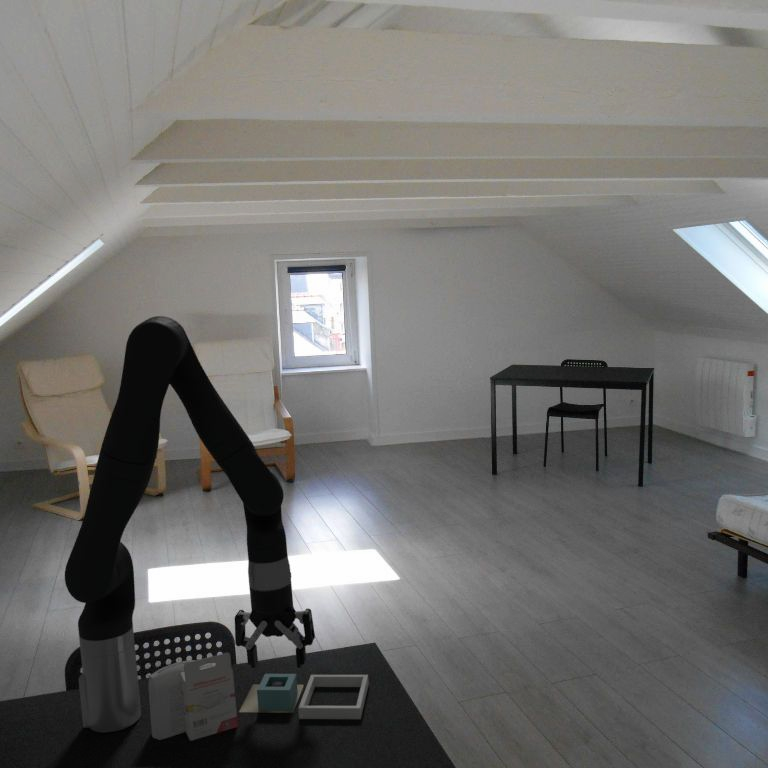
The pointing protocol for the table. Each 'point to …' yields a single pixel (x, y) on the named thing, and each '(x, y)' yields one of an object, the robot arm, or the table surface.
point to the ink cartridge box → (208, 696)
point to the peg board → (252, 700)
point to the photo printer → (167, 701)
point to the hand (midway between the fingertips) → (277, 666)
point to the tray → (333, 711)
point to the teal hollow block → (277, 692)
